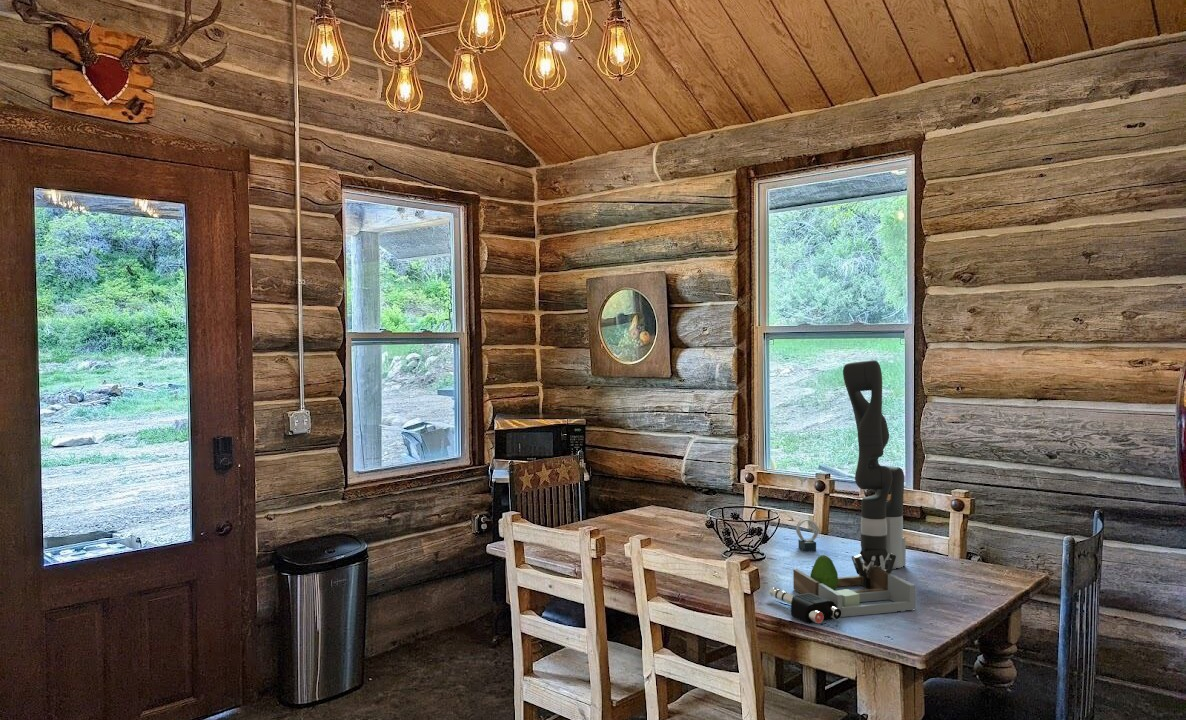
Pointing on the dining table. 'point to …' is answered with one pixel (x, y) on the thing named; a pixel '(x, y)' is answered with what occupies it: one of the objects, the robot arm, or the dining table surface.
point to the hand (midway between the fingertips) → (874, 588)
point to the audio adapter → (808, 606)
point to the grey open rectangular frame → (876, 598)
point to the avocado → (825, 572)
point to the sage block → (849, 597)
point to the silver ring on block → (807, 544)
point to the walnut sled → (841, 581)
